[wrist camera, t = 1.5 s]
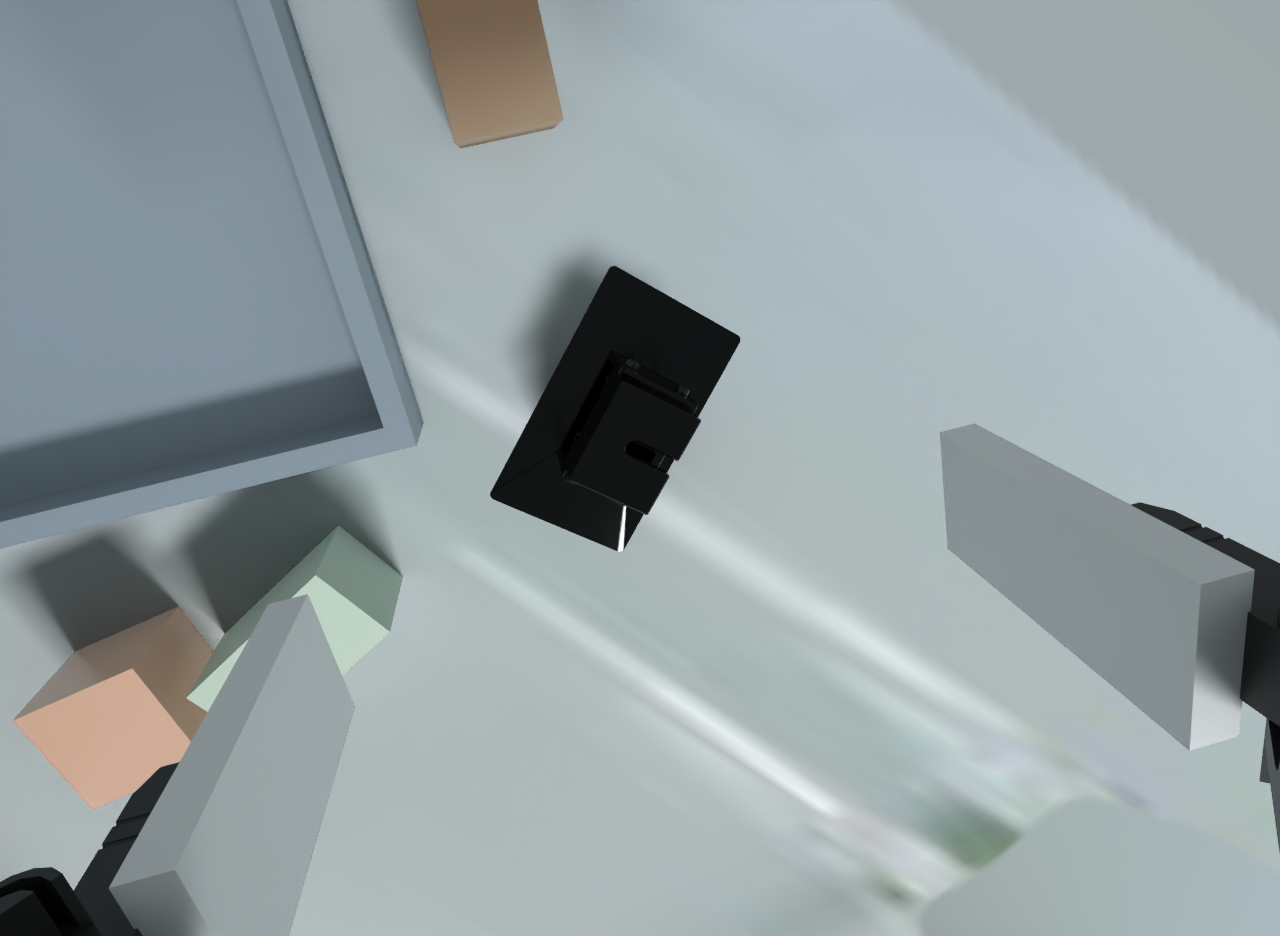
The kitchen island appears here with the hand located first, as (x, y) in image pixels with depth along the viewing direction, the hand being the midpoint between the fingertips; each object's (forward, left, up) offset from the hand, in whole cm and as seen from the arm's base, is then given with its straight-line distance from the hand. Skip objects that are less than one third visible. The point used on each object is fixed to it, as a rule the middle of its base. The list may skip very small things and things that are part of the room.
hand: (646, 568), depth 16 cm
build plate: (+1, -1, -14) cm, 14 cm away
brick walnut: (0, +12, -13) cm, 18 cm away
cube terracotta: (-17, -6, -13) cm, 23 cm away
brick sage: (-11, -5, -13) cm, 18 cm away
